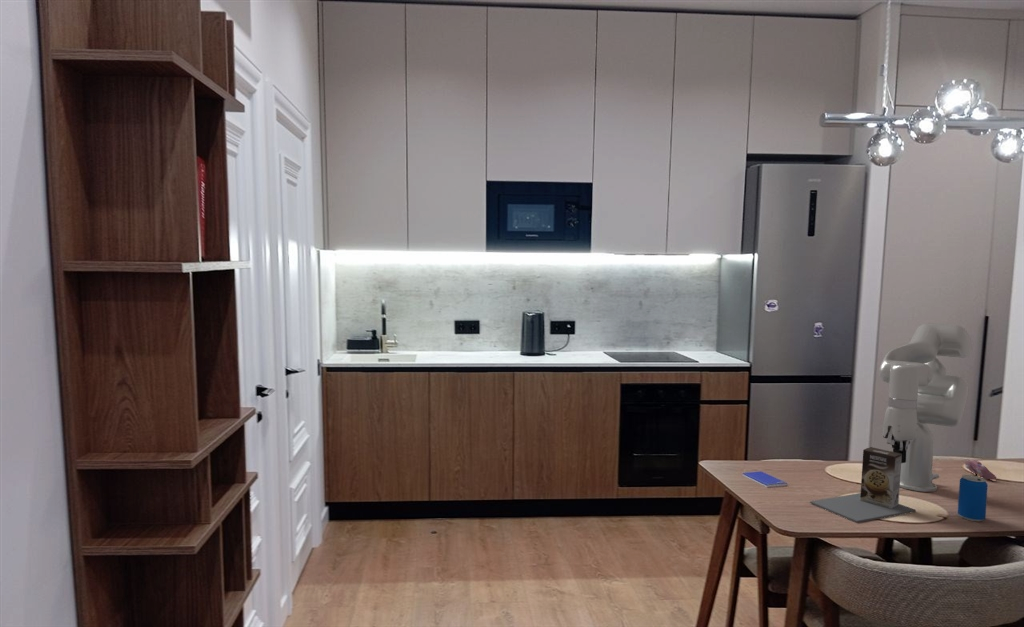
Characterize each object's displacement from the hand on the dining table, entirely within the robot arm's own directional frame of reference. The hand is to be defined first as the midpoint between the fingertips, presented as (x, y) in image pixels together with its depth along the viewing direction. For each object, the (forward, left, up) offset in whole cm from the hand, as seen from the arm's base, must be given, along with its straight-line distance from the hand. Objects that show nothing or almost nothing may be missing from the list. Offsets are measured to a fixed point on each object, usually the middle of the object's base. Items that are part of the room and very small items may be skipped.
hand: (899, 461), depth 189 cm
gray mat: (+15, 0, -13) cm, 20 cm away
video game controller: (-53, -7, -13) cm, 55 cm away
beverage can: (-8, +17, -13) cm, 23 cm away
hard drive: (+25, -30, -14) cm, 41 cm away
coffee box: (+8, 0, -12) cm, 15 cm away
